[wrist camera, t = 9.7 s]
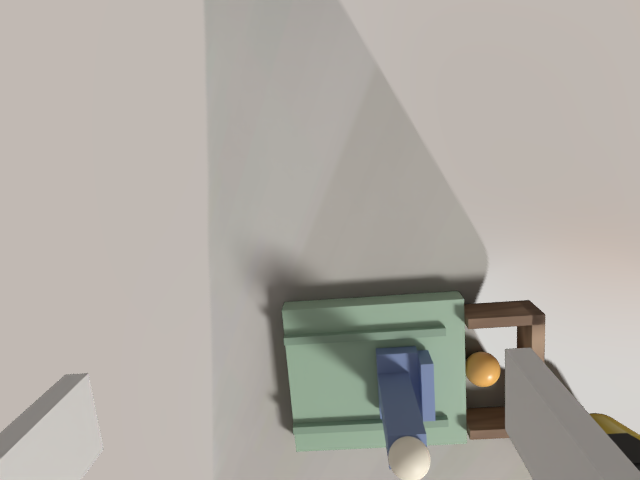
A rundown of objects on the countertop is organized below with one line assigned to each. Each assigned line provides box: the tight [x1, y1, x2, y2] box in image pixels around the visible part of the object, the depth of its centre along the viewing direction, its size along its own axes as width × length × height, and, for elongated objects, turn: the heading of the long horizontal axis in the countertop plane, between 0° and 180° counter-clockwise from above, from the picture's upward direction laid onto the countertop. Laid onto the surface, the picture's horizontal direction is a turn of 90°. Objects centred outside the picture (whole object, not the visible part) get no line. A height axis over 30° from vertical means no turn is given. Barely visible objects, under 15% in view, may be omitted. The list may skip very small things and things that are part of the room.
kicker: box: [376, 346, 436, 480], centre depth 43 cm, size 7×5×14 cm
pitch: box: [282, 291, 467, 452], centre depth 51 cm, size 16×18×3 cm
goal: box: [464, 300, 545, 440], centre depth 50 cm, size 13×7×4 cm, turn 5°
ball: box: [465, 352, 500, 387], centre depth 50 cm, size 4×4×4 cm
